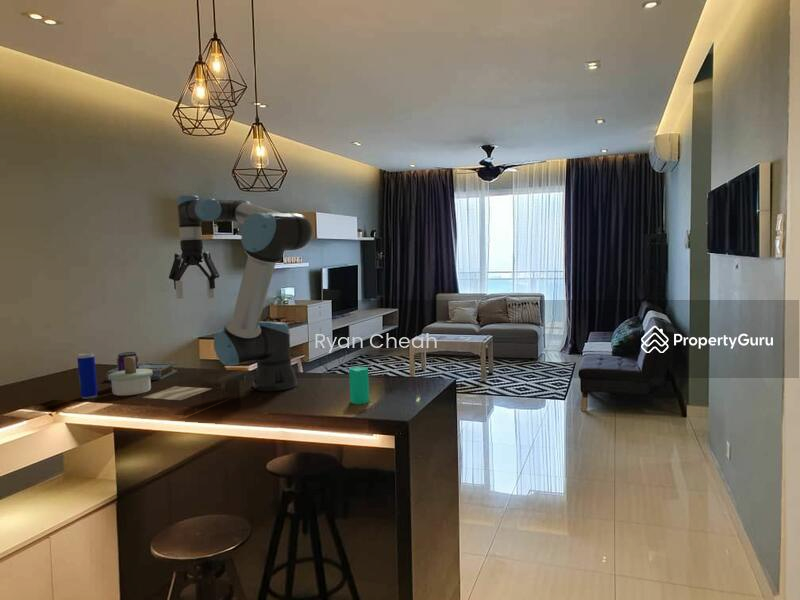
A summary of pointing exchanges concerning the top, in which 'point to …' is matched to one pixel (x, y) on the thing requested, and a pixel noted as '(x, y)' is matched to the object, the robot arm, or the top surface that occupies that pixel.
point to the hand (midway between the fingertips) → (195, 298)
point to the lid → (130, 371)
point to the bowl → (131, 386)
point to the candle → (359, 385)
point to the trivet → (177, 393)
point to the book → (153, 370)
